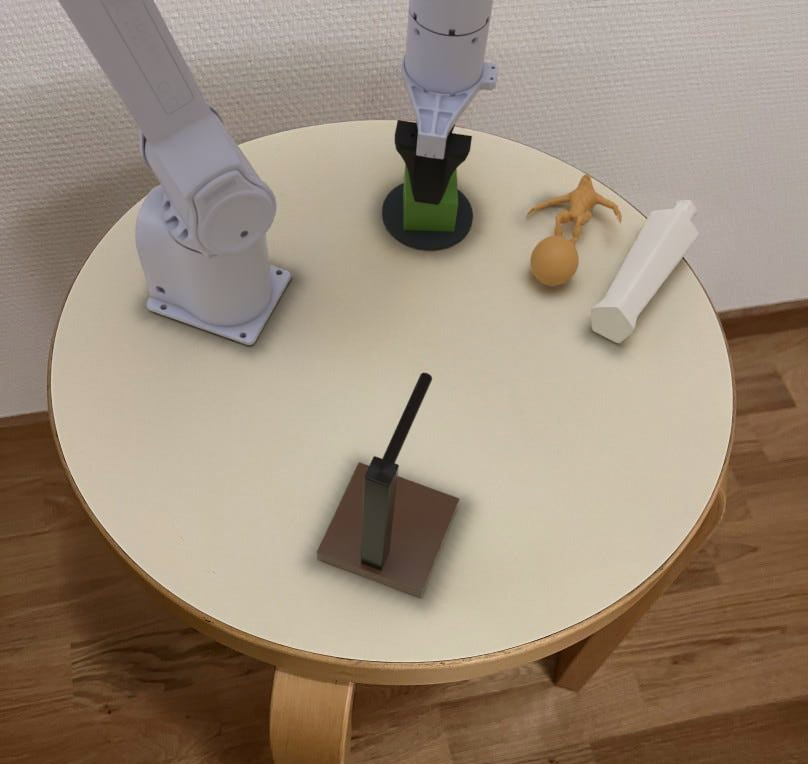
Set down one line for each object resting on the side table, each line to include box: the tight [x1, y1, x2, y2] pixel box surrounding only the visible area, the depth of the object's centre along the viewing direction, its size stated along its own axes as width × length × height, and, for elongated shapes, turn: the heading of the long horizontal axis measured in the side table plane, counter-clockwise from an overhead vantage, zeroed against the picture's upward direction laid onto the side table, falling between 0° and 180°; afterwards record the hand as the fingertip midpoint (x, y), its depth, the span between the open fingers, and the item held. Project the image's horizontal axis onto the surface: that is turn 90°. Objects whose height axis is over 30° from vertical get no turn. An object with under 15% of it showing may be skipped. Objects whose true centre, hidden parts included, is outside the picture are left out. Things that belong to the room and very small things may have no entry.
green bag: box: [403, 163, 459, 232], centre depth 77 cm, size 4×4×5 cm
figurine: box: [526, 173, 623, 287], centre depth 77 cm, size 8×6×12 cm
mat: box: [381, 182, 474, 252], centre depth 79 cm, size 8×8×1 cm
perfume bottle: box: [590, 199, 700, 344], centre depth 76 cm, size 5×4×15 cm
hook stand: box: [316, 372, 460, 598], centre depth 60 cm, size 8×9×14 cm
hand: (432, 166), depth 74 cm, fingers open, 7 cm apart
